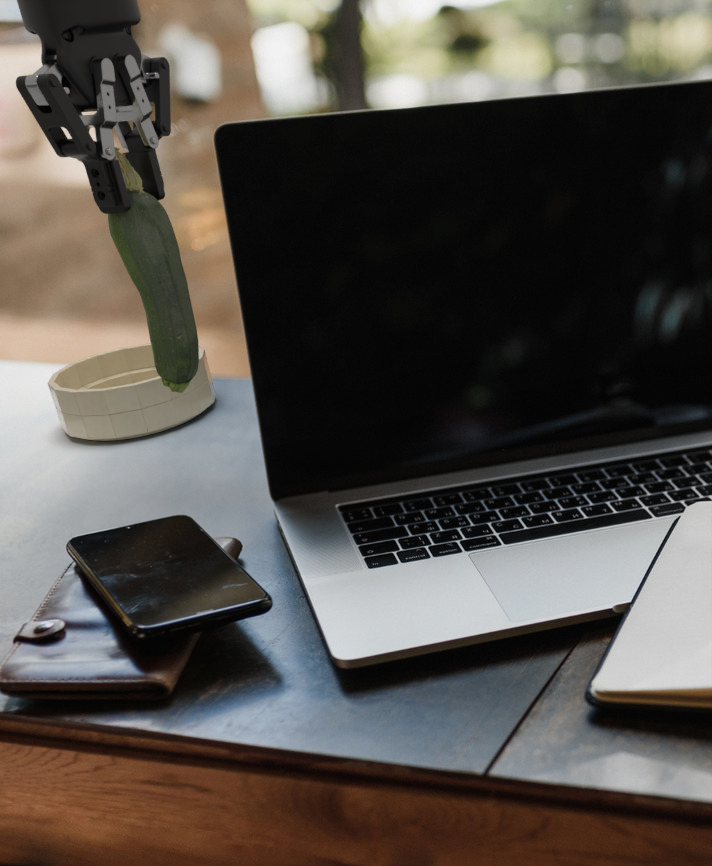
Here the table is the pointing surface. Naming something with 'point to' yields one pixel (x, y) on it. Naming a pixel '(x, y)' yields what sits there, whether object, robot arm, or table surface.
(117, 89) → the robot arm
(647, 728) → the table surface
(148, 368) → the bowl
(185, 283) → the vegetable
